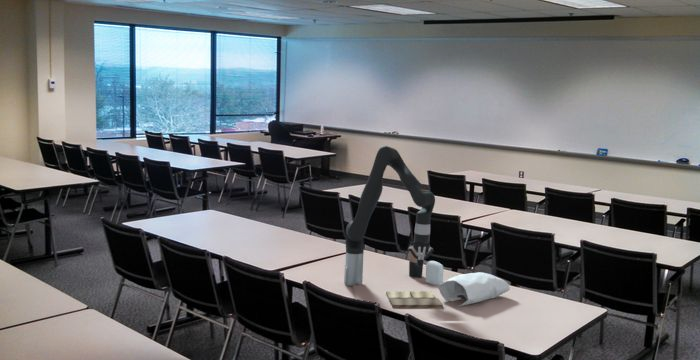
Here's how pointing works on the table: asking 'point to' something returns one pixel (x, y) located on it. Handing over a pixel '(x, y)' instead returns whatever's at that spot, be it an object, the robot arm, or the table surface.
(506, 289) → the bag
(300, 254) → the table surface
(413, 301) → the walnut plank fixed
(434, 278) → the photo printer
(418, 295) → the oak plank right
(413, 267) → the travel mug
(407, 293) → the oak plank left
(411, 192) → the robot arm
